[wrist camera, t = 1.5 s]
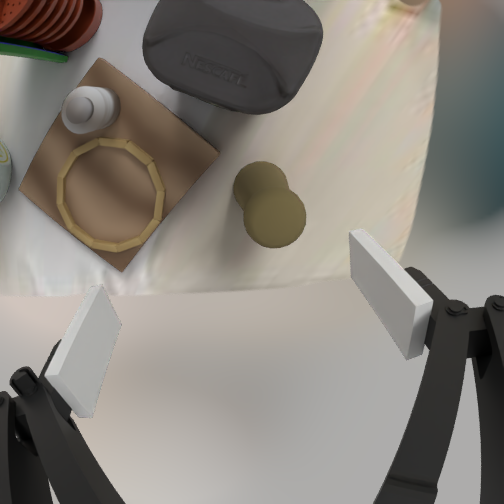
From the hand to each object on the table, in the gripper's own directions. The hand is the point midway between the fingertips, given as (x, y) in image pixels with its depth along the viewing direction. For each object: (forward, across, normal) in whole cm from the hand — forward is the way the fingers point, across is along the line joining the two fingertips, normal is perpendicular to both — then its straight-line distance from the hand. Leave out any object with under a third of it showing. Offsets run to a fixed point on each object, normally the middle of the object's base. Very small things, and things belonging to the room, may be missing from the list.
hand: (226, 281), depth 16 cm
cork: (+20, +4, -1) cm, 21 cm away
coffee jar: (+20, +3, +12) cm, 24 cm away
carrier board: (+20, -12, +5) cm, 24 cm away
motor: (+20, -13, +24) cm, 34 cm away
